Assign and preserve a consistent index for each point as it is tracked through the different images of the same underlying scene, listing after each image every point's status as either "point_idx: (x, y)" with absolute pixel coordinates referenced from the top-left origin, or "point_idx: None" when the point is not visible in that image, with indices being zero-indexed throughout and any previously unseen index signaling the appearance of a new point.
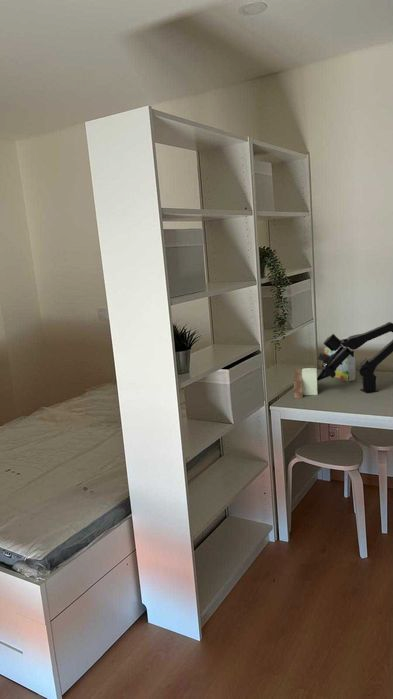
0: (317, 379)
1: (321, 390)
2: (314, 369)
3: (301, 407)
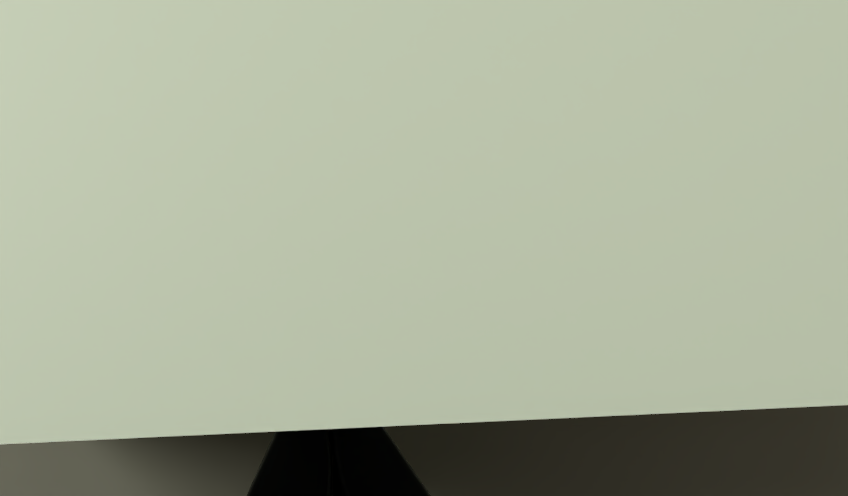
0: None
1: None
2: (674, 282)
3: None
